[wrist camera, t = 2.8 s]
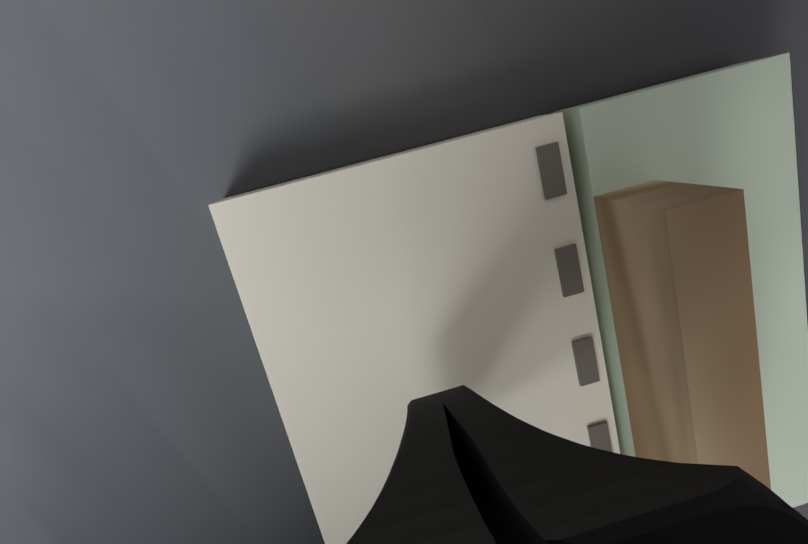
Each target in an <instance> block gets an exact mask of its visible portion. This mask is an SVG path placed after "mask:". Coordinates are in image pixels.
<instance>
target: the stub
mask: <svg viewBox="0 0 808 544" xmlns="http://www.w3.org/2000/svg"><path fill="white" fill-rule="evenodd" d="M559 112H562V113H563V119H564V125H565V131H566V137H567V143H568V149H569V154H570V160H571V166H572V172H573V178H574V184H575V190H576V196H577V201H578V207H579V213H580V219H581V225H582V231H583V237H584V243H585V248H586V254H587V260H588V266H589V272H590V278H591V284H592V289H593V295H594V301H595V307H596V313H597V319H598V325H599V331H600V336H601V342H602V348H603V354H604V360H605V366H606V372H607V377H608V383H609V389H610V395H611V401H612V407H613V413H614V419H615V424H616V430H617V436H618V442H619V448H620V454H623V455H628V456H634V457H639V458H646V459H653V460H660V461H668V462H676V463H690V464H709V465H728V466H738V467H740V468H741V469H743V470H744V471H746V472H747V473H749V474H750V475H751V476H753V477H754V478H756V479H757V480H758V481H760V482H761V483H763V484H764V485H765V486H767V487H768V488H769V489H770V490H772V491H773V492H774V493H775V494H777V495H778V496H779V497H780V498H781V499H783V500H784V501H785V502H786V503H787V504H788V505H790V506H791V507H792V508H793V507H796V506H799V505H802V504H805V503H808V325H807V310H806V295H805V280H804V265H803V250H802V234H801V219H800V204H799V189H798V174H797V159H796V144H795V129H794V114H793V99H792V83H791V68H790V53H785V54H780V55H775V56H771V57H766V58H761V59H756V60H752V61H747V62H742V63H738V64H734V65H730V66H727V67H723V68H719V69H715V70H711V71H708V72H704V73H700V74H696V75H692V76H689V77H685V78H681V79H677V80H673V81H670V82H666V83H662V84H658V85H654V86H651V87H647V88H643V89H639V90H635V91H632V92H628V93H624V94H620V95H616V96H613V97H609V98H605V99H601V100H597V101H594V102H590V103H586V104H582V105H578V106H574V107H571V108H567V109H563V110H559V111H555V112H553V113H559Z"/></svg>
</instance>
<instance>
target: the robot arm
mask: <svg viewBox="0 0 808 544" xmlns="http://www.w3.org/2000/svg"><path fill="white" fill-rule="evenodd" d="M346 544H808V520H807V519H806V518H805V517H803V516H802V515H801V514H800V513H798V512H797V511H796V510H795V509H793V508H792V507H791V506H790V505H788V504H787V503H786V502H785V501H784V500H783V499H781V498H780V497H779V496H778V495H777V494H775V493H774V492H773V491H772V490H770V489H769V488H768V487H767V486H765V485H764V484H763V483H761V482H760V481H758V480H757V479H756V478H754V477H753V476H751V475H750V474H749V473H747V472H746V471H744V470H743V469H741V468H740V467H738V466H728V465H709V464H690V463H676V462H668V461H660V460H653V459H646V458H639V457H634V456H628V455H623V454H618V453H614V452H610V451H606V450H601V449H597V448H593V447H590V446H586V445H583V444H579V443H576V442H573V441H570V440H568V439H565V438H562V437H559V436H556V435H553V434H551V433H548V432H546V431H543V430H541V429H539V428H537V427H535V426H533V425H530V424H528V423H526V422H524V421H522V420H520V419H518V418H516V417H514V416H513V415H511V414H509V413H507V412H506V411H504V410H502V409H500V408H499V407H497V406H495V405H494V404H492V403H491V402H489V401H488V400H486V399H485V398H483V397H482V396H480V395H479V394H477V393H476V392H474V391H473V390H471V389H470V388H468V387H466V386H465V385H462V386H458V387H455V388H452V389H448V390H445V391H441V392H438V393H434V394H431V395H428V396H424V397H421V398H417V399H414V400H411V401H410V403H409V404H408V406H407V418H406V423H405V428H404V432H403V436H402V439H401V442H400V446H399V449H398V452H397V455H396V458H395V460H394V463H393V465H392V468H391V470H390V473H389V475H388V477H387V480H386V482H385V484H384V486H383V488H382V490H381V492H380V494H379V496H378V498H377V499H376V501H375V503H374V505H373V507H372V508H371V510H370V511H369V513H368V514H367V516H366V518H365V519H364V520H363V522H362V523H361V525H360V526H359V528H358V529H357V530H356V532H355V533H354V535H353V536H352V537H351V538H350V540H349V541H348V542H347V543H346Z"/></svg>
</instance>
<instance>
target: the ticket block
mask: <svg viewBox="0 0 808 544" xmlns="http://www.w3.org/2000/svg"><path fill="white" fill-rule="evenodd" d="M208 206H209V209H210V211H211V214H212V217H213V220H214V223H215V226H216V229H217V232H218V235H219V238H220V240H221V243H222V246H223V249H224V252H225V255H226V258H227V261H228V264H229V267H230V270H231V272H232V275H233V278H234V281H235V284H236V287H237V290H238V293H239V296H240V299H241V301H242V304H243V307H244V310H245V313H246V316H247V319H248V322H249V325H250V328H251V330H252V333H253V336H254V339H255V342H256V345H257V348H258V351H259V354H260V357H261V360H262V362H263V365H264V368H265V371H266V374H267V377H268V380H269V383H270V386H271V389H272V391H273V394H274V397H275V400H276V403H277V406H278V409H279V412H280V415H281V418H282V420H283V423H284V426H285V429H286V432H287V435H288V438H289V441H290V444H291V447H292V450H293V452H294V455H295V458H296V461H297V464H298V467H299V470H300V473H301V476H302V479H303V481H304V484H305V487H306V490H307V493H308V496H309V499H310V502H311V505H312V508H313V510H314V513H315V516H316V519H317V522H318V525H319V528H320V531H321V534H322V537H323V540H324V542H325V544H346V543H347V542H348V541H349V540H350V538H351V537H352V536H353V535H354V533H355V532H356V530H357V529H358V528H359V526H360V525H361V523H362V522H363V520H364V519H365V518H366V516H367V514H368V513H369V511H370V510H371V508H372V507H373V505H374V503H375V501H376V499H377V498H378V496H379V494H380V492H381V490H382V488H383V486H384V484H385V482H386V480H387V477H388V475H389V473H390V470H391V468H392V465H393V463H394V460H395V458H396V455H397V452H398V449H399V446H400V442H401V439H402V436H403V432H404V428H405V423H406V418H407V406H408V404H409V403H410V401H411V400H414V399H417V398H421V397H424V396H428V395H431V394H434V393H438V392H441V391H445V390H448V389H452V388H455V387H458V386H462V385H465V386H466V387H468V388H470V389H471V390H473V391H474V392H476V393H477V394H479V395H480V396H482V397H483V398H485V399H486V400H488V401H489V402H491V403H492V404H494V405H495V406H497V407H499V408H500V409H502V410H504V411H506V412H507V413H509V414H511V415H513V416H514V417H516V418H518V419H520V420H522V421H524V422H526V423H528V424H530V425H533V426H535V427H537V428H539V429H541V430H543V431H546V432H548V433H551V434H553V435H556V436H559V437H562V438H565V439H568V440H570V441H573V442H576V443H579V444H583V445H586V446H590V447H593V448H597V449H601V450H606V451H610V452H614V453H618V454H620V448H619V442H618V436H617V430H616V424H615V419H614V413H613V407H612V401H611V395H610V389H609V383H608V377H607V372H606V366H605V360H604V354H603V348H602V342H601V336H600V331H599V325H598V319H597V313H596V307H595V301H594V295H593V289H592V284H591V278H590V272H589V266H588V260H587V254H586V248H585V243H584V237H583V231H582V225H581V219H580V213H579V207H578V201H577V196H576V190H575V184H574V178H573V172H572V166H571V160H570V154H569V149H568V143H567V137H566V131H565V125H564V119H563V113H562V112H559V113H552V114H546V115H540V116H535V117H531V118H528V119H524V120H520V121H516V122H512V123H509V124H505V125H501V126H497V127H493V128H490V129H486V130H482V131H478V132H474V133H471V134H467V135H463V136H459V137H455V138H452V139H448V140H444V141H440V142H436V143H433V144H429V145H425V146H421V147H417V148H414V149H410V150H406V151H402V152H398V153H394V154H391V155H387V156H383V157H379V158H375V159H372V160H368V161H364V162H360V163H356V164H353V165H349V166H345V167H341V168H337V169H334V170H330V171H326V172H322V173H318V174H315V175H311V176H307V177H303V178H299V179H296V180H292V181H288V182H284V183H280V184H277V185H273V186H269V187H265V188H261V189H258V190H254V191H250V192H246V193H242V194H239V195H235V196H231V197H227V198H223V199H221V200H219V201H216V202H214V203H212V204H210V205H208Z"/></svg>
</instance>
